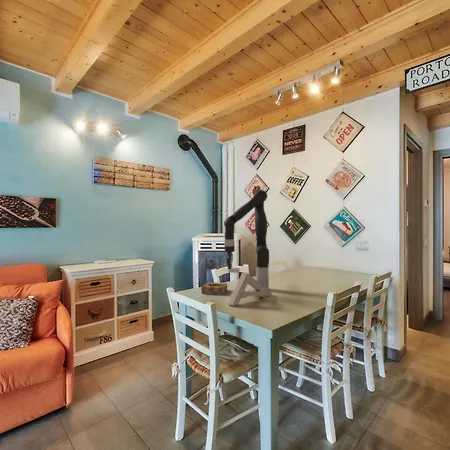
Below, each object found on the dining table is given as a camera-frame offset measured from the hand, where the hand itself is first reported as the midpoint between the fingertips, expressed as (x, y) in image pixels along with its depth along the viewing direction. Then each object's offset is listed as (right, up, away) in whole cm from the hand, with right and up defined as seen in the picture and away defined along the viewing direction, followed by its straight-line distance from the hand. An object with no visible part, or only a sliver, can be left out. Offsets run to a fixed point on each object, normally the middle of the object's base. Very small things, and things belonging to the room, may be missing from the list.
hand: (230, 268), depth 205 cm
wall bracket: (+14, -18, -24) cm, 33 cm away
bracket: (+3, -3, -1) cm, 4 cm away
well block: (-11, -17, -2) cm, 21 cm away
